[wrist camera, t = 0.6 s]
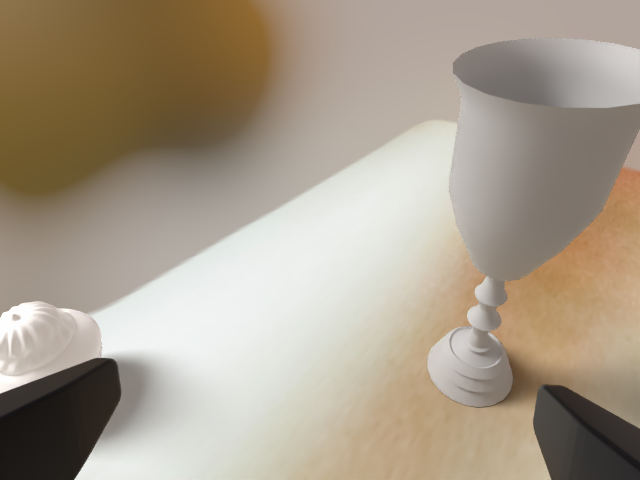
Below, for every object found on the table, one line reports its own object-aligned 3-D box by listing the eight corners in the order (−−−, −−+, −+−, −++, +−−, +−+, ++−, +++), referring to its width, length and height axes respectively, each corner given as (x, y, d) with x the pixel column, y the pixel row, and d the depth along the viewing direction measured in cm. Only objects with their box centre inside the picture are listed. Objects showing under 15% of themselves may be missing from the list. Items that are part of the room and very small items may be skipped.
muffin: (21, 369, 27) (-45, 298, 23) (116, 331, 29) (72, 260, 25) (14, 452, 23) (-69, 386, 19) (126, 402, 25) (75, 331, 21)
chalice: (502, 451, 21) (665, 129, 10) (390, 381, 25) (414, 83, 13) (545, 355, 26) (694, 50, 14) (444, 306, 29) (497, 31, 18)
